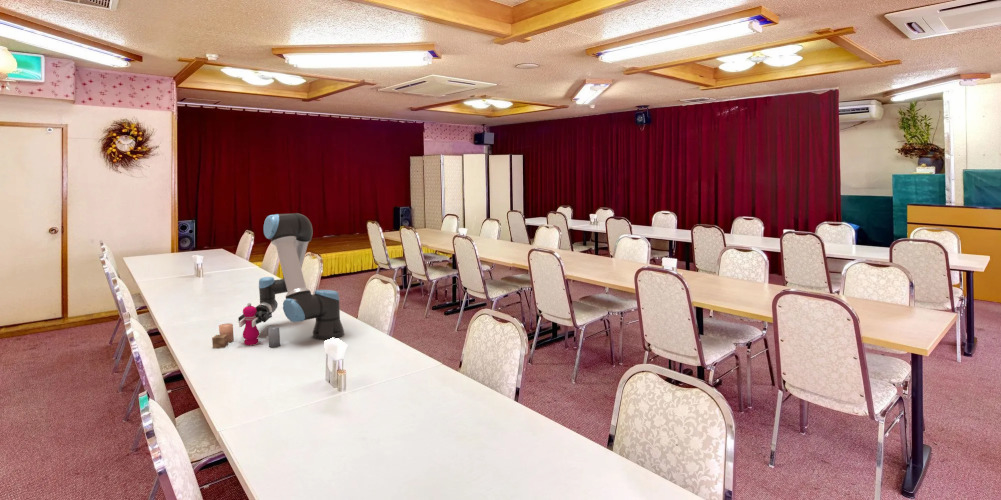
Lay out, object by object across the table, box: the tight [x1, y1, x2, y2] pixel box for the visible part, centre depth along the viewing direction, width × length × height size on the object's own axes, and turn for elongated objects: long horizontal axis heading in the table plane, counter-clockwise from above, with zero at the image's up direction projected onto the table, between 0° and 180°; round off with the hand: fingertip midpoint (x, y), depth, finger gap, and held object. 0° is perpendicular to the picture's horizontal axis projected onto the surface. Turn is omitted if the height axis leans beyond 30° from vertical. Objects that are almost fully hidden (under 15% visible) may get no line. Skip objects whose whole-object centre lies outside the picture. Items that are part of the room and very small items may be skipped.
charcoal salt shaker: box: [267, 325, 281, 349], centre depth 254 cm, size 5×5×9 cm
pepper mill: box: [242, 302, 260, 346], centre depth 256 cm, size 7×7×20 cm
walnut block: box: [211, 334, 229, 349], centre depth 253 cm, size 5×5×5 cm
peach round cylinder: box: [218, 323, 235, 344], centre depth 261 cm, size 6×6×8 cm
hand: (246, 324), depth 251 cm, fingers closed on pepper mill, 5 cm apart
